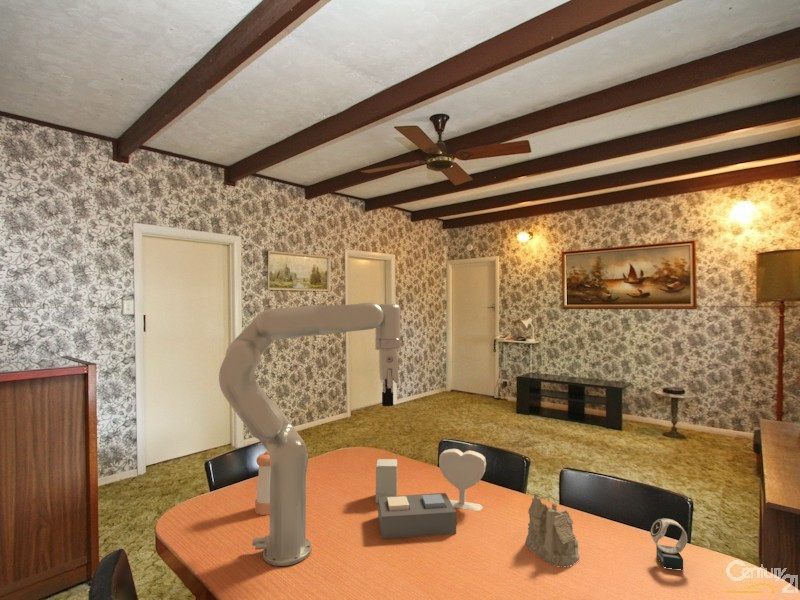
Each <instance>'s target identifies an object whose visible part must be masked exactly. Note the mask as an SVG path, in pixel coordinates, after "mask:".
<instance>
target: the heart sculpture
mask: <svg viewBox="0 0 800 600" xmlns="http://www.w3.org/2000/svg"><path fill="white" fill-rule="evenodd" d="M438 459H439V460H438V464H439V470H440V472H441V474H442V476H443V478H445V479H446V480H447V481H448V482H449V483H450V484H451V485H452V486H454V487H455V488H456V489H457V490H459V491H458V492H459V498H458V499H459V500H455V499H449V500H450V502H451V504H452V505H453V507H454V508H457V509H464V510H470V511H475V512H480V511H482V510H483V508H484V507H483V506H482V505H481V504H480V503H473V502H468V501H466V490H467V489H470V488H472V487H474V486H475V485H476V484H478V483H479V482H480V481H481V480H482V478H483V476H484V474H485V472H486V468H487V467H486V466H487V460H486V456H484V455H483V454H482V453H480V452H477V451H474V450H469V449H468V450H466V451H464V452H463V451H462V450H460V449H458V448H449V449H445V450H443V451H442V452H441V453H440V455H439V458H438Z"/></svg>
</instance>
